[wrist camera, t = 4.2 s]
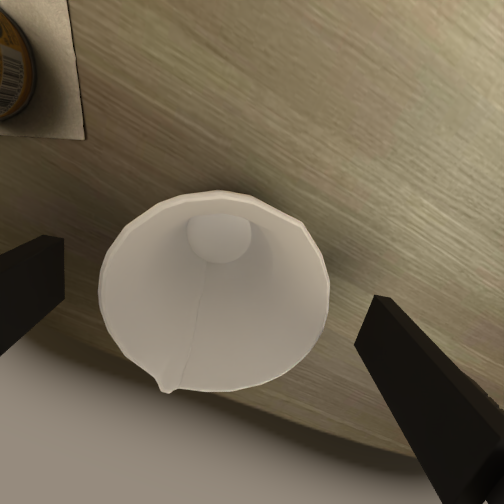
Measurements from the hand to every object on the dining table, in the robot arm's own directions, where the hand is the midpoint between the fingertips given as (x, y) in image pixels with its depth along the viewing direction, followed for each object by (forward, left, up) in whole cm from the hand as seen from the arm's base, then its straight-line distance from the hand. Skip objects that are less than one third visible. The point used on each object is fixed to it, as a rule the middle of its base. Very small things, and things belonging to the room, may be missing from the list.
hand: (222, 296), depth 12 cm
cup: (0, 0, -9) cm, 9 cm away
